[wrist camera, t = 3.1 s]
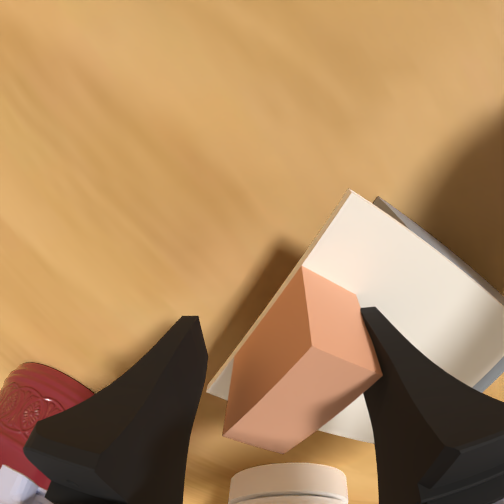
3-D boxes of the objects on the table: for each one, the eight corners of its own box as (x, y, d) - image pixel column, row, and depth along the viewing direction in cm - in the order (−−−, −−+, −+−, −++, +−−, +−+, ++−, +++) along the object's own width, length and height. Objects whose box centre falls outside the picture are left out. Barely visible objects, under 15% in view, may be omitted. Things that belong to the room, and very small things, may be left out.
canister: (50, 429, 28) (0, 541, 13) (-5, 349, 23) (-90, 478, 7) (144, 452, 27) (104, 595, 11) (95, 369, 22) (6, 565, 6)
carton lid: (523, 323, 12) (563, 379, 8) (394, 441, 17) (406, 498, 13) (348, 187, 10) (393, 247, 6) (207, 384, 15) (190, 463, 11)
